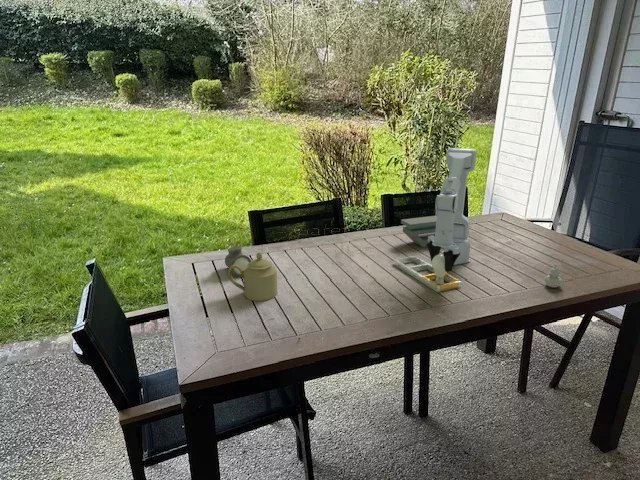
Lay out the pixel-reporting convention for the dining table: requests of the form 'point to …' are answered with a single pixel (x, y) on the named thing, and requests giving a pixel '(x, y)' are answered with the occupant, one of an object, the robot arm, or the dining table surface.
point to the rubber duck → (553, 278)
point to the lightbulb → (439, 268)
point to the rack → (426, 278)
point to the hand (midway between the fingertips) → (441, 267)
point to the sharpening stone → (420, 229)
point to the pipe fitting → (236, 260)
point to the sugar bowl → (257, 279)
